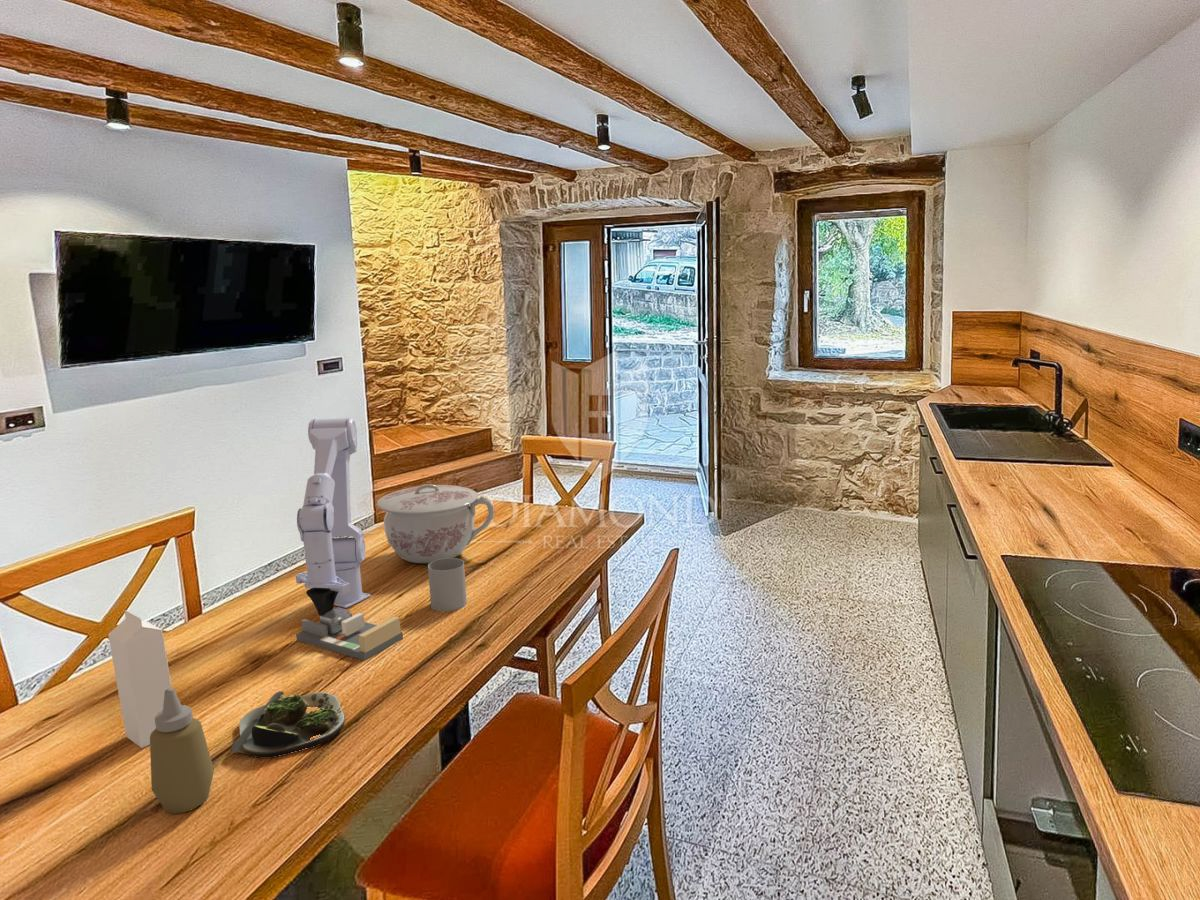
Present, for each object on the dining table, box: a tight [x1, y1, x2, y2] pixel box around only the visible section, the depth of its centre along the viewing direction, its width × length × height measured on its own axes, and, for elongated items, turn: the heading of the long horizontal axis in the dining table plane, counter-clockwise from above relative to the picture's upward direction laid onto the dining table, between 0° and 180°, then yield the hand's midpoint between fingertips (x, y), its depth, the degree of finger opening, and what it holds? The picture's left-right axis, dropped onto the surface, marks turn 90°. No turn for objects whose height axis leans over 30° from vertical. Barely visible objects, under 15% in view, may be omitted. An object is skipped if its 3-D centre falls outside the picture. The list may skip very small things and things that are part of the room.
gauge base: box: [295, 607, 404, 662], centre depth 163 cm, size 20×11×5 cm, turn 61°
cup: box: [427, 557, 468, 612], centre depth 179 cm, size 8×8×10 cm
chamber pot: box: [376, 483, 495, 565], centre depth 211 cm, size 28×28×21 cm
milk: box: [108, 610, 173, 749], centre depth 127 cm, size 6×6×22 cm
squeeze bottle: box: [149, 687, 215, 814], centre depth 110 cm, size 8×8×18 cm
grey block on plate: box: [319, 606, 351, 634], centre depth 163 cm, size 6×5×4 cm
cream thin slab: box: [336, 612, 365, 640], centre depth 161 cm, size 1×7×3 cm, turn 151°
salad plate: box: [230, 691, 346, 758], centre depth 131 cm, size 19×18×5 cm
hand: (326, 618), depth 166 cm, fingers closed
